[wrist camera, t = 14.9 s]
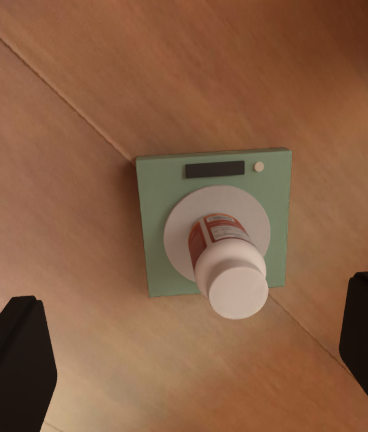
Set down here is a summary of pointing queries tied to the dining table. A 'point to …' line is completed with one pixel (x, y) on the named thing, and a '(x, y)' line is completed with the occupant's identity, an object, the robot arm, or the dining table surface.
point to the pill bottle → (227, 266)
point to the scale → (211, 209)
